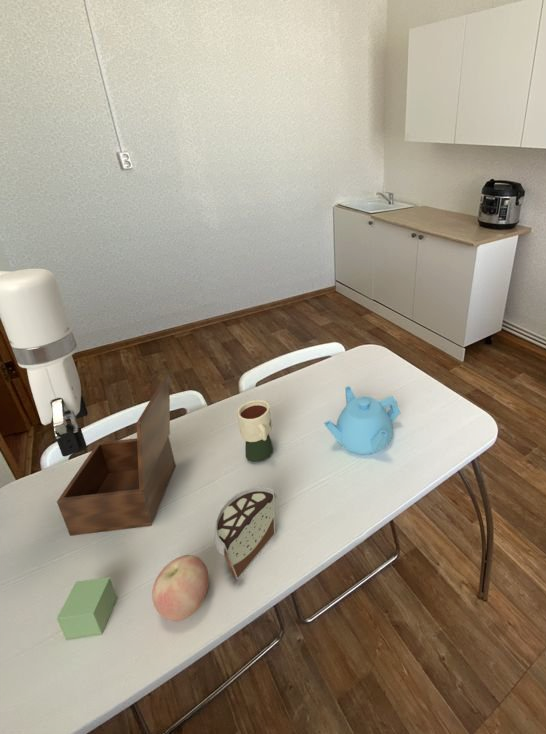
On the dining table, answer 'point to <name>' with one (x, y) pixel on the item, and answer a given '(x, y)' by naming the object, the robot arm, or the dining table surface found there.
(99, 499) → the chest
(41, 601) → the dining table surface
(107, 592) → the block
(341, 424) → the teapot
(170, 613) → the apple
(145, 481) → the lid
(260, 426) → the character mug
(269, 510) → the slice of cake
